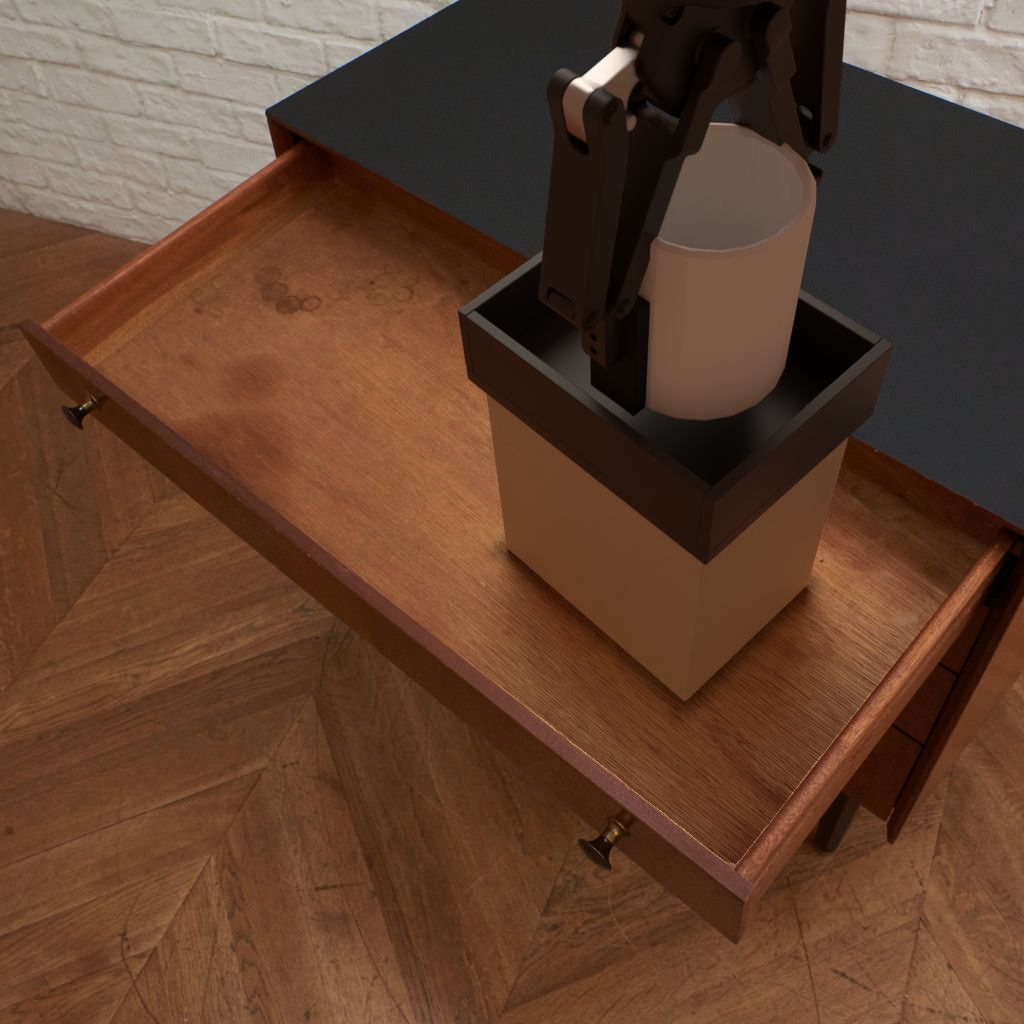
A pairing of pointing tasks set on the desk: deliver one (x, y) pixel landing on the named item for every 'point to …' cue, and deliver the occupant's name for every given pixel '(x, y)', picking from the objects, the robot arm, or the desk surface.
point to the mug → (726, 275)
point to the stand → (654, 558)
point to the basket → (665, 440)
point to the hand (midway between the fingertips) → (684, 342)
